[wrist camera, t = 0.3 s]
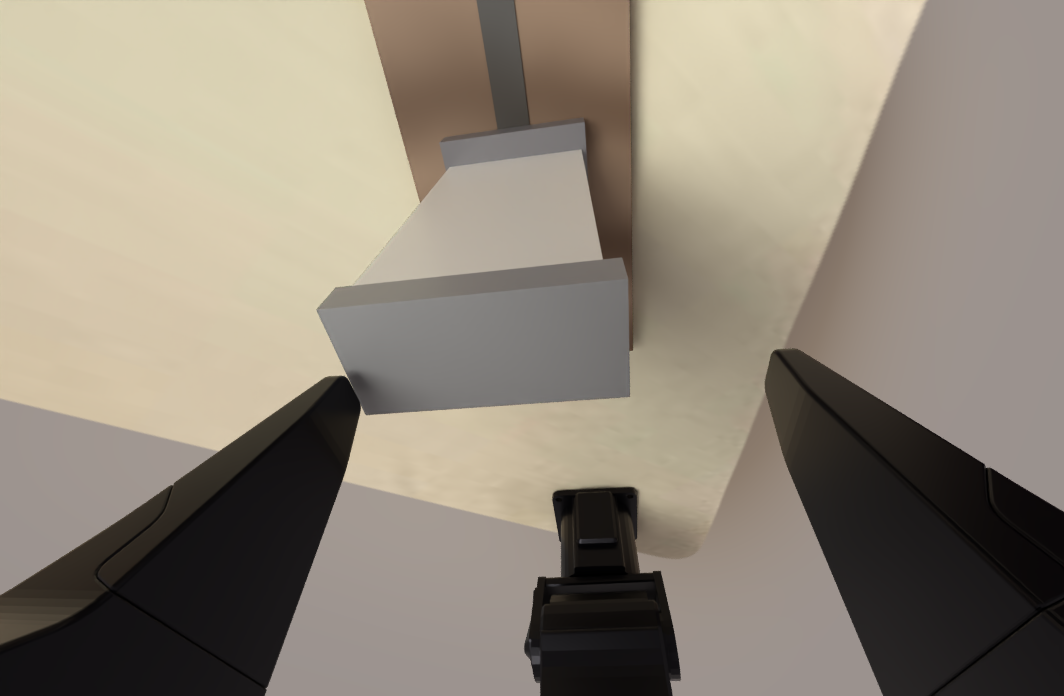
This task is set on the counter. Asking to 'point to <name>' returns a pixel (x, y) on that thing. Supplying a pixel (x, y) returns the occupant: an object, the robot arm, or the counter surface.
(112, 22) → the counter surface
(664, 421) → the counter surface
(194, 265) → the counter surface
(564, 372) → the fader tab
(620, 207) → the slider base
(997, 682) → the robot arm
